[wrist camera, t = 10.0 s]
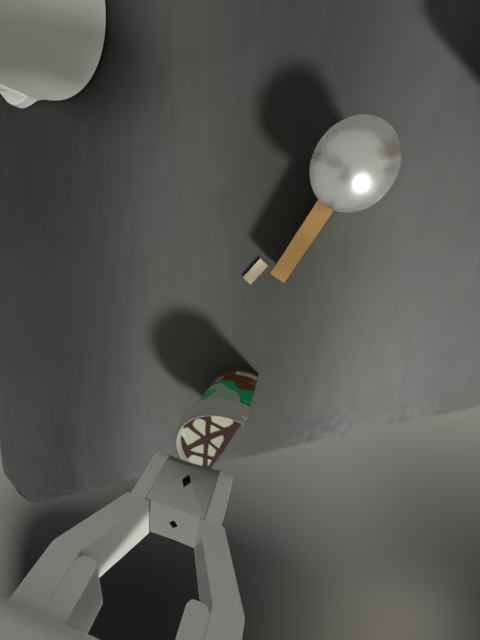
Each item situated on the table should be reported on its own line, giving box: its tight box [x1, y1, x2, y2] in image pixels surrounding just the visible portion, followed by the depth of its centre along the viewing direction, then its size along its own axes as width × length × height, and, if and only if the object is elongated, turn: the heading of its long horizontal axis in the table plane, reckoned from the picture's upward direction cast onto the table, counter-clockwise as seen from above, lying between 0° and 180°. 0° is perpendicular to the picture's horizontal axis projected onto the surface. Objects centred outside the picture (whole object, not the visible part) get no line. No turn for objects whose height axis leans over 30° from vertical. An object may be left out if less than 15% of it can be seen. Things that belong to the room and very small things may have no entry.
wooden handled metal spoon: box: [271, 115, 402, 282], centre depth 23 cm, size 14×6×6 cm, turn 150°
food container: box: [177, 369, 259, 468], centre depth 34 cm, size 12×6×10 cm, turn 155°
